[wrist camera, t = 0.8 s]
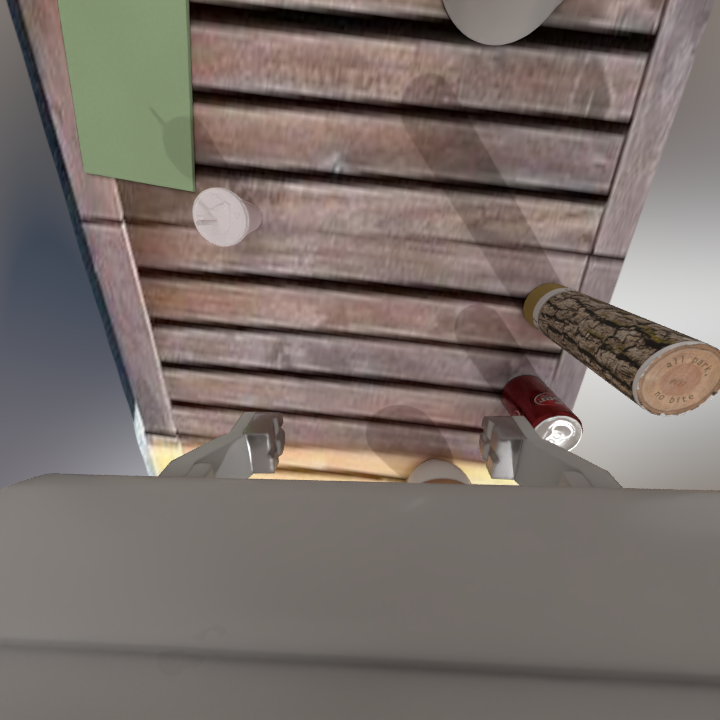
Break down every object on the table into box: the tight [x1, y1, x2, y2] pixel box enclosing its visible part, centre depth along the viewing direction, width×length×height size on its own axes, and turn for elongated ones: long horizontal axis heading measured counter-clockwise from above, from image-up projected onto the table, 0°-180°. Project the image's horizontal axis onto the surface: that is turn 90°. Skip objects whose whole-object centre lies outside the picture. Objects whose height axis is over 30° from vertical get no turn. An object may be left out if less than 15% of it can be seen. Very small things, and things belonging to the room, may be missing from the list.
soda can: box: [501, 375, 583, 451], centre depth 51 cm, size 7×7×12 cm
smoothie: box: [193, 188, 262, 246], centre depth 41 cm, size 6×6×14 cm
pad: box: [58, 0, 196, 192], centre depth 42 cm, size 20×15×1 cm
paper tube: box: [523, 283, 720, 417], centre depth 39 cm, size 7×7×25 cm
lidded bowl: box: [406, 459, 471, 484], centre depth 59 cm, size 13×13×11 cm
